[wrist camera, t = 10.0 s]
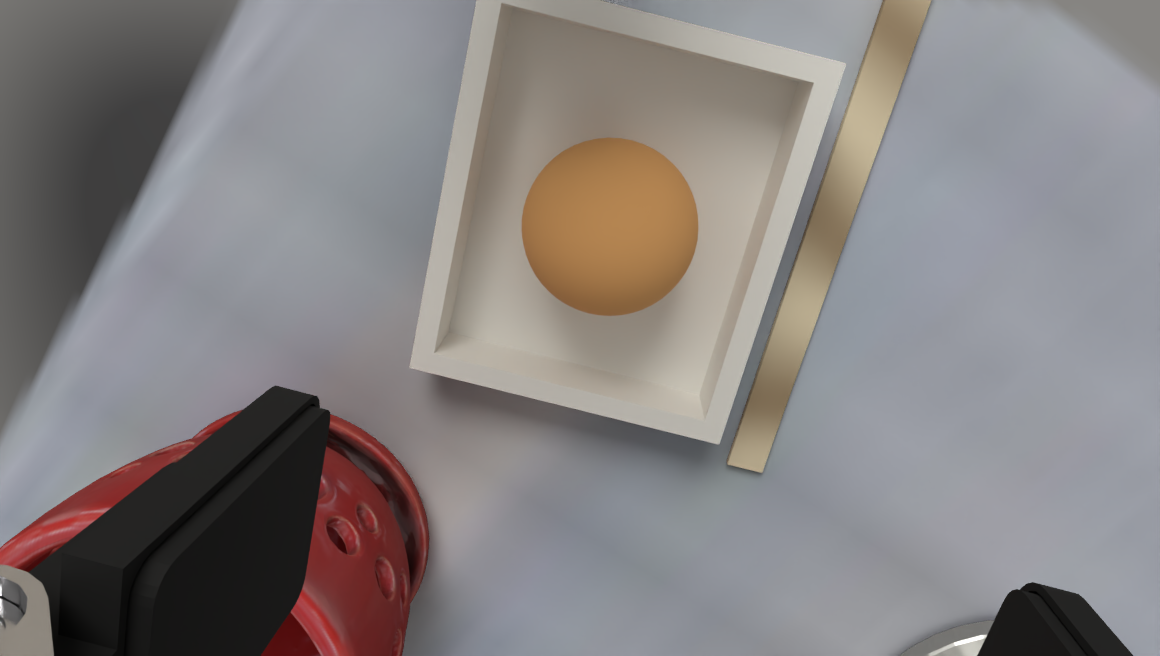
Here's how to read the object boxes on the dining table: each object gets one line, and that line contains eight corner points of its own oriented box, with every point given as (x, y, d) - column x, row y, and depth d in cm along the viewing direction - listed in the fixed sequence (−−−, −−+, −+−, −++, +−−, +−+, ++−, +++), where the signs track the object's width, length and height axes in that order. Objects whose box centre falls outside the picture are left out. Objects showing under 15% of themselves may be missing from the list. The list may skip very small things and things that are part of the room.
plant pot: (512, 525, 35) (454, 746, 23) (312, 670, 38) (174, 927, 26) (302, 305, 32) (120, 434, 21) (106, 482, 35) (-146, 677, 24)
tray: (711, 411, 32) (719, 444, 29) (429, 341, 32) (409, 368, 29) (824, 64, 28) (846, 63, 25) (497, -20, 28) (482, -31, 25)
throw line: (760, 469, 33) (762, 473, 33) (726, 460, 33) (727, 464, 33) (941, -37, 27) (944, -37, 26) (899, -48, 27) (901, -49, 26)
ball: (668, 307, 30) (673, 359, 25) (519, 269, 30) (490, 312, 25) (712, 155, 28) (729, 172, 23) (554, 114, 28) (531, 122, 23)
